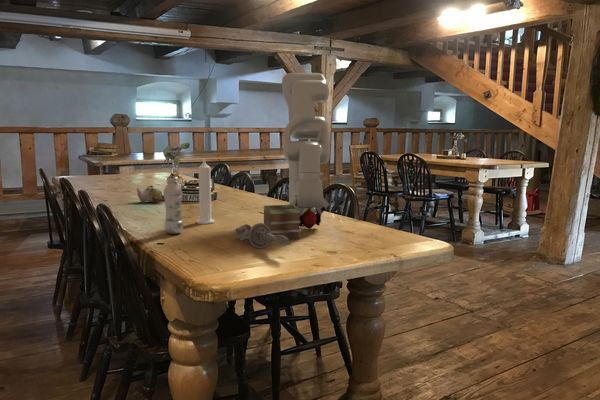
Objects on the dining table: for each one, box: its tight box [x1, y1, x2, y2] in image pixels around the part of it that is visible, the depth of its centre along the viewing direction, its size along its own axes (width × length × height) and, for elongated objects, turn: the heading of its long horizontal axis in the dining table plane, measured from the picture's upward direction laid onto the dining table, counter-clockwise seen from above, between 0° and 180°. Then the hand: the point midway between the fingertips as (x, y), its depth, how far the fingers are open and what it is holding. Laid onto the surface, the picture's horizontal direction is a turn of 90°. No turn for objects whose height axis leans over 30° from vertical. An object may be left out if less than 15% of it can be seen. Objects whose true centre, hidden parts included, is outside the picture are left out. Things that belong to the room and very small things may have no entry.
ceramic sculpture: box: [136, 185, 165, 204], centre depth 243 cm, size 11×9×15 cm
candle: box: [196, 158, 216, 225], centre depth 193 cm, size 7×7×25 cm
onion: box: [302, 208, 317, 230], centre depth 183 cm, size 6×6×8 cm
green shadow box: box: [263, 204, 301, 241], centre depth 170 cm, size 10×11×10 cm
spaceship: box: [235, 222, 290, 249], centre depth 155 cm, size 8×35×8 cm
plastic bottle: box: [162, 176, 184, 235], centre depth 174 cm, size 6×7×20 cm
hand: (308, 224), depth 184 cm, fingers closed on onion, 5 cm apart
